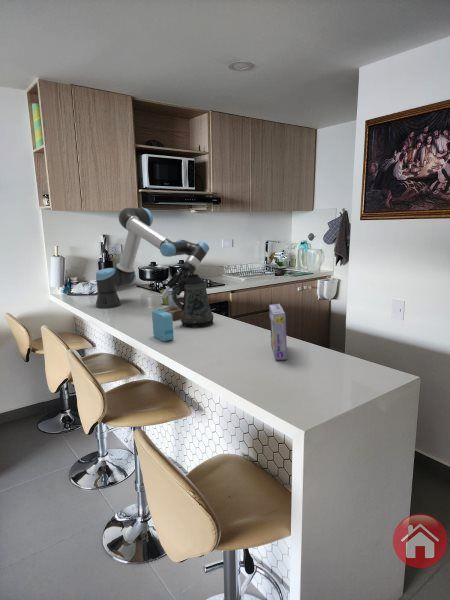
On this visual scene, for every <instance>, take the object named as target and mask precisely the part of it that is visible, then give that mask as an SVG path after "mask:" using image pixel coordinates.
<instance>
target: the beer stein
mask: <svg viewBox="0 0 450 600" xmlns="http://www.w3.org/2000/svg"><path fill="white" fill-rule="evenodd" d="M207 286H208V283H207V281H205V280H204V279H203V278H201V277H200V276H199V274H195V273H193V274H192V275H188V277H187V278H185V279H181V280H179V281H178V283H177V284H176V285H175V286H173V287H172V288H173V289H172V299H173V301H174V303H175V304H176V305H177V306H178V307H179V308H180V309H181V310H183V313H182V317H181V319H180V322H181V325H182V326H183V327H184V328H189V329H190V328H191V329H199V328H206V327H210V326H212V325H213V322H214V314H213V312H212V310H211V307H210V302H209V298H208V292H207V288H208V287H207ZM179 290H183V304H182V303H181V302H180V300H179V297H178V298H177V296H176V293H177V291H179Z"/></svg>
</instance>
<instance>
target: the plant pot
mask: <svg viewBox="0 0 450 600" xmlns="http://www.w3.org/2000/svg"><path fill="white" fill-rule="evenodd" d="M165 290H166V289H161V290H160V294H161V295H162V294H163V293H164V291H165ZM161 299H162V304H163V305H164V306H169V299H168V296H167V297H166V299H164V298H163V297H162V296H161Z"/></svg>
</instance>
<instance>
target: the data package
mask: <svg viewBox="0 0 450 600" xmlns="http://www.w3.org/2000/svg"><path fill="white" fill-rule="evenodd" d="M151 315H152V316H151V318H152V334H153V337H155V338H156V339H157V340H160V341H162V342H163V343H165V342H169V341H173V340H174V337H175V336H174V321H173V319H172V314H171V313H168V312H166V311H163V310H159V309H157V310H153V311H151Z"/></svg>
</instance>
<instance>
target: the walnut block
mask: <svg viewBox="0 0 450 600" xmlns="http://www.w3.org/2000/svg"><path fill="white" fill-rule="evenodd" d="M158 310H163V311H166V312H168V313H171V314H172V319H173V322H175V321H180V320H181V317H182V313H183V310H181V309H180V308H179V307H178V306H176V307H169V306H168V307H163V308H159V309H158Z"/></svg>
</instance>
